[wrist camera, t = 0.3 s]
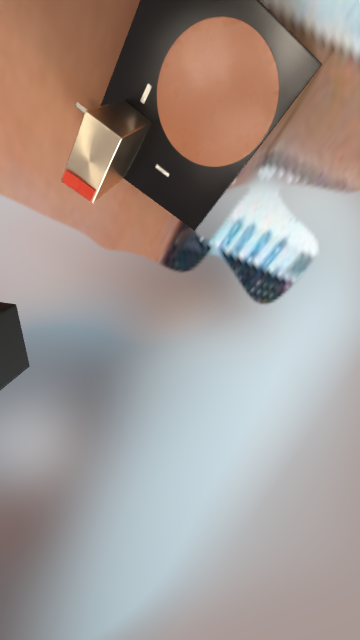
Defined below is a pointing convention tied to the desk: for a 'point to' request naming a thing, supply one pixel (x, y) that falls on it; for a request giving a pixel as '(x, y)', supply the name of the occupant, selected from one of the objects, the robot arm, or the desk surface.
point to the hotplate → (141, 92)
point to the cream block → (104, 148)
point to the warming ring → (217, 91)
